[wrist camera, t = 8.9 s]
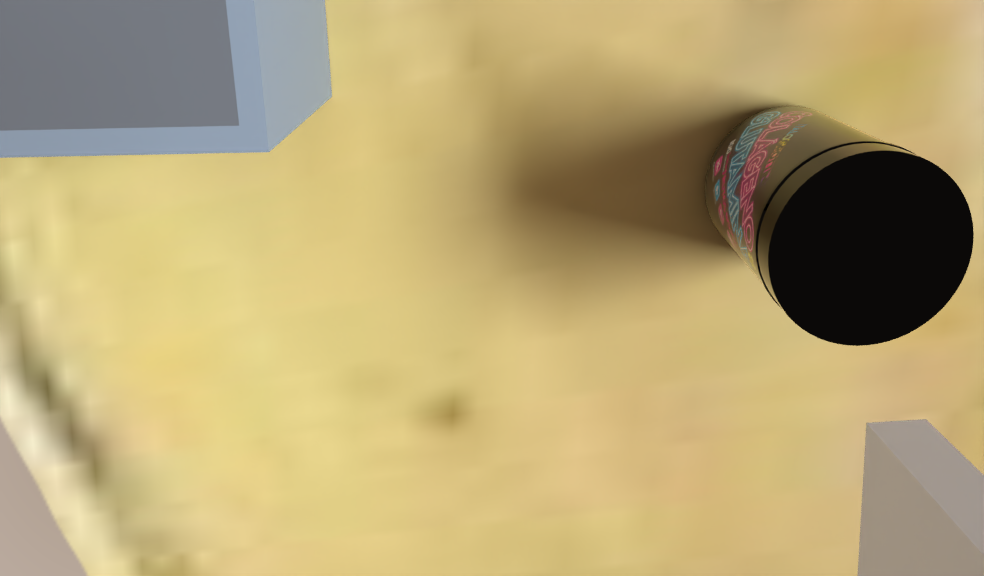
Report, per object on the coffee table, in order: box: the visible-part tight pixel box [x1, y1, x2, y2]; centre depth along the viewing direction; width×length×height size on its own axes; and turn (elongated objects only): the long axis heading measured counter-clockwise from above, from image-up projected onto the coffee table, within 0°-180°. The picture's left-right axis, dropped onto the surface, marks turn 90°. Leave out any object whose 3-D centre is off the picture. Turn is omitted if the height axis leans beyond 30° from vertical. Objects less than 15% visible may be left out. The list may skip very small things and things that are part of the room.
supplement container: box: [705, 106, 973, 346], centre depth 36 cm, size 7×7×10 cm
